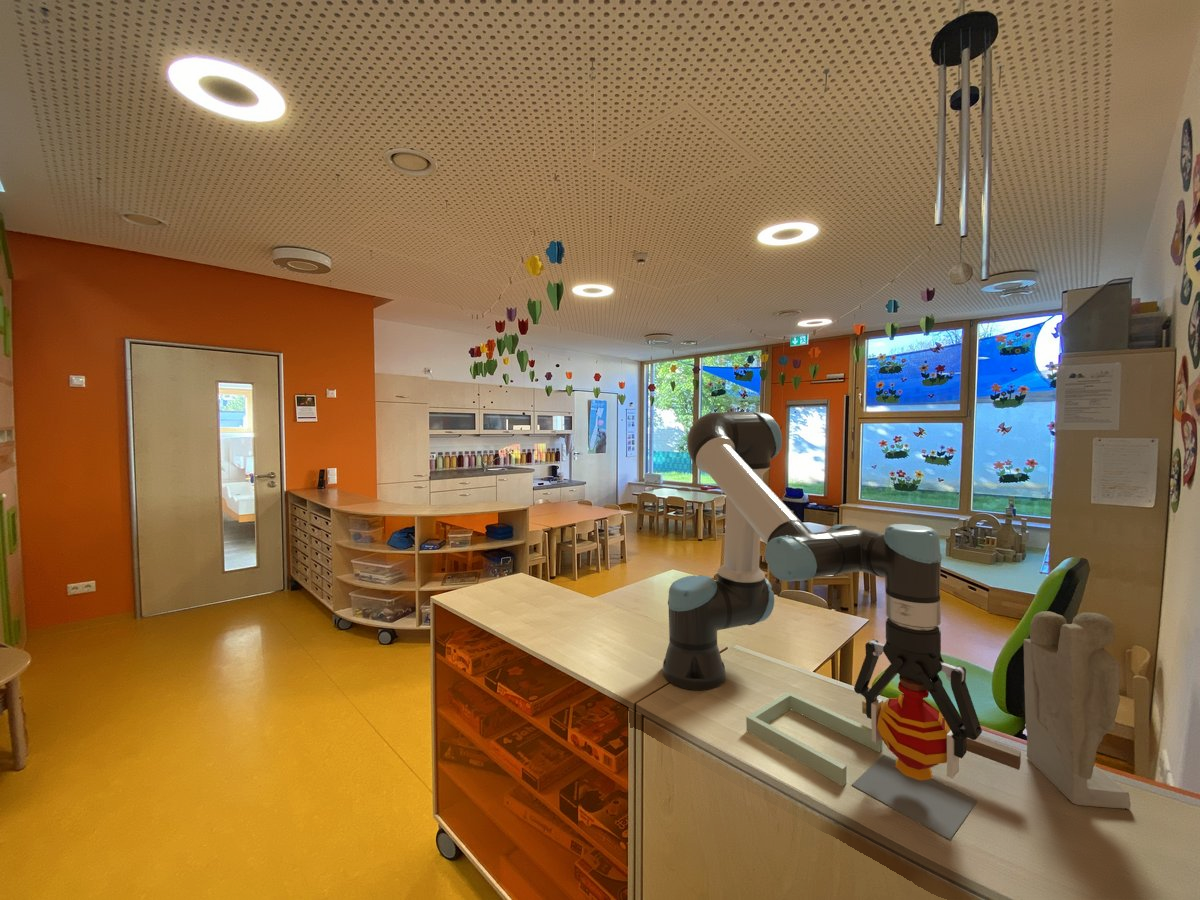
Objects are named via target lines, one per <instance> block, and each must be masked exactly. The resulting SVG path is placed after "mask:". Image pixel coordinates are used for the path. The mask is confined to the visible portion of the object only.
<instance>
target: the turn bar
mask: <svg viewBox="0 0 1200 900" xmlns="http://www.w3.org/2000/svg"><path fill="white" fill-rule="evenodd" d="M861 705H862V706H861V709H862V710H861V712H862V713H863V714H864V715H866V699H865V698H863V700H862V701H861ZM950 731H951V730H950ZM966 742H967V748H966V749H967V752H969V753H971V754H974V755H977V756H981V757H982V758H985V759H988V760H990V761H993V762H996V763H999V764H1001V765H1004V766H1007V767H1010V768H1013V769H1015V770H1018V771H1020V768H1021V764H1022V761H1021V760H1022V758H1021V755H1022V754H1021V753H1022V752H1021V750H1019V749H1017V748H1014V747H1011V746H1008V745H1006V744H1002V743H999V742H997V741H995V740H994V741H993V740H992V739H991V740H990V739H987V738H985V737H982V736H980V735H979V736H978V738H977V739H976V740H972V739H970V738H966Z"/></svg>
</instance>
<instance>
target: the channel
mask: <svg viewBox="0 0 1200 900" xmlns="http://www.w3.org/2000/svg"><path fill="white" fill-rule="evenodd" d="M789 709H790V710H791V709H792V710H791V711H793V710H794V711H793V712H795V711H796V712H795V713H797V712H798V714H799V713H801V714H803V715H804V717H805V716H806V718H807V717H808V719H810V720H812V721H813V722H815V723H818V724H820V725H822V726H824V727H826V728H829V729H830V730H833V732H836V733H838V734H840V735H842V736H845V737H847V738H849V739H850V740H853V741H855V742H856V743H859V744H861V745H863V746H865V747H867V748H870V749H872V750H873V751H875V752H878V753H881V752H882V751H883V740H882V738H881V739H880V740H879V741H878V742H877V743H875V742H873V741H872V728H870V727H868V726H866V725H864V724H861V723H859V722H858V721H857V722H856V720H852V719H850V718H848V717H846V716H843V715H842V714H839V713H838V712H835V711H833V710H830V709H829V708H827V707H824V706H821V705H819V704H817V703H815V702H812V701H810V700H808V699H806V698H804V697H802V696H800V695H797V694H795V693H793V692H791V691H787V692H784V693H783V694H781V695H779V696H778V697H776V698H775V699H773V700H771V701H770V702H768V703H767V704H765V705H763V706H761V707H760V708H758V709H757V710H755V711H754V712H752V713H749V714H748V715H747V716H746V718H745V719H746V721H745V722H746V725H745V726H746V732H747V731H748V732H750V733H751V734H750V733H749V734H750V735H752V734H753V735H752V736H754V737H755V736H756V738H757V737H758V739H759V740H761V741H762V742H764V743H766V744H768V745H770V746H772V747H773V748H775V749H777V750H778V751H780V752H782V753H784V754H786V755H787V756H788V757H791V758H792V759H794V760H796V761H798V762H799V763H801V764H802V765H804V766H806V767H807V768H810V769H812V770H813V771H815V772H817V773H819V774H820V775H822V776H824V777H826V778H827V779H829V780H831V781H833V782H835V783H837V785H839V786H842V787H844V786H845V785H847V765H846V764H844V763H842V762H839V761H838V760H836V759H834V758H832V757H831V756H829V755H827V754H825V753H823V752H821V751H820V750H817V749H815V748H813V747H812V746H810V745H808V744H806V743H805V742H802V741H800V740H799V739H797V738H794V737H793V736H791V735H789V734H788V733H786V732H784V731H782V730H780V729H778V728H777V727H774V726H772V725H771V724H770V723H771V722H773V721H774V720H776V719H777V718H779V717H780V715H781V716H783V713H784V714H785V713H787V712H789V711H790V710H789ZM786 711H787V712H786ZM801 714H800V715H801ZM803 715H802V716H803ZM748 732H747V733H748Z"/></svg>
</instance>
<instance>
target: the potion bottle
mask: <svg viewBox="0 0 1200 900" xmlns="http://www.w3.org/2000/svg"><path fill="white" fill-rule="evenodd" d="M898 675H899V677H898V679H899V682H898V684H897V685H898V686H897V688H898V691H899V692H901V693H899V694H898V697H889V698H887V700H885V701H883V704H882V707H881V711H880V714H879V719H878V724H877V728H878V730H879V732H880V734H881V737H882V742H883V743H884V744H885V746H886V747H887V749H888V750H889V751H890V752H891V753H892V754H893V755H895V756H896V759H895V760H896V766H895V767H896V768H897V769H899V770H900V771H901V772H902V773H903V774H904V775H906V776H909V777H912V778H915V779H918V780H926V779H932V778H933V771H932V769H931V768H932V767H935V766H937V765H939V764H947V734H948V733H949V732H950V728H949V726H948V724H947V723H946V721H945V719H944V717H943V715H942V714H941V712H940V710H939V709H937V708H936V707H935V706H933V705H932V704H930V702H928V701H927V700H925V698H929V695H930V692H929V691H927V690H926V689H925V687H924V685H923V683H918V682H915V681H914V680H912V679H910V678H904V677H901V676H900V674H898Z"/></svg>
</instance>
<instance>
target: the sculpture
mask: <svg viewBox="0 0 1200 900" xmlns="http://www.w3.org/2000/svg"><path fill="white" fill-rule="evenodd" d="M1114 624H1115V623H1114V622H1113V620H1111V619H1110V618H1109V617H1108V616H1106V615H1104V614H1101V613H1098V612H1087V611H1086V612H1085V611H1084V612H1081V613H1078V614H1077V615H1075V616H1074V617H1073V619H1072V623H1068V622H1067V619H1066V618H1065V617H1064V616H1063V615H1061V614H1058V613H1056V612H1053V611H1050V610H1048V611H1040V612H1037V613H1035V614H1034V615H1033V617H1032V619H1031V622H1030V627H1029V638H1024V639H1023V670H1024V674H1023V675H1024V681H1023V682H1024V715H1025V730H1026V758H1027V759H1028V761H1030V762H1031V764H1032V765H1033V766H1034V767H1036V768H1037V769H1038V770H1039V771H1040V772H1041V773H1042V775H1044V776H1045V778H1047V779H1048V780H1049V781H1050V782H1051V783H1052V784H1053V786H1055V787H1056V789H1058V791H1059V792H1061V793H1062V794H1063V795H1064V796H1065V797H1066V798H1067V800H1069V801H1070V802H1071V804H1074V805H1076V806H1084V807H1097V808H1110V809H1111V808H1112V809H1125V808H1126V809H1127V810H1128V809H1131V799H1130V793H1129V792H1128V791H1127V790H1126V789H1125V788H1124V787H1122V786H1121V785H1120V784H1119V783H1118V782H1116V781H1115V780H1114V779H1113V778H1111V776H1109V775H1108V774H1107V773H1106V772H1104V771H1103V770H1102V769H1101V768H1100V767H1098V766H1097V765H1096V764H1095V763H1096V757H1097V750H1098V749H1099V748H1098V747H1099V745H1100V744H1101V743H1102V742H1103V739H1104V736H1106V735H1107V734H1108V732H1109V731H1115V728H1116V725H1117V723H1116V717H1117V714H1118V709H1119V706H1120V701H1121V697H1120V689H1121V681H1120V680H1121V679H1120V678H1121V677H1120V673H1121V671H1120V665H1121V664H1120V662H1119V661H1118V659H1117V658H1116V657H1115V656H1113V655H1112V654H1111V653H1109V651H1107V650H1106V649H1105V648H1106V647H1108V646H1110V645H1112V644H1114V643H1115V639H1116V636H1115V635H1116V634H1115V632H1114V631H1115V627H1114V626H1115V625H1114ZM1094 765H1095V766H1094ZM1096 766H1097V767H1096Z"/></svg>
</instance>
